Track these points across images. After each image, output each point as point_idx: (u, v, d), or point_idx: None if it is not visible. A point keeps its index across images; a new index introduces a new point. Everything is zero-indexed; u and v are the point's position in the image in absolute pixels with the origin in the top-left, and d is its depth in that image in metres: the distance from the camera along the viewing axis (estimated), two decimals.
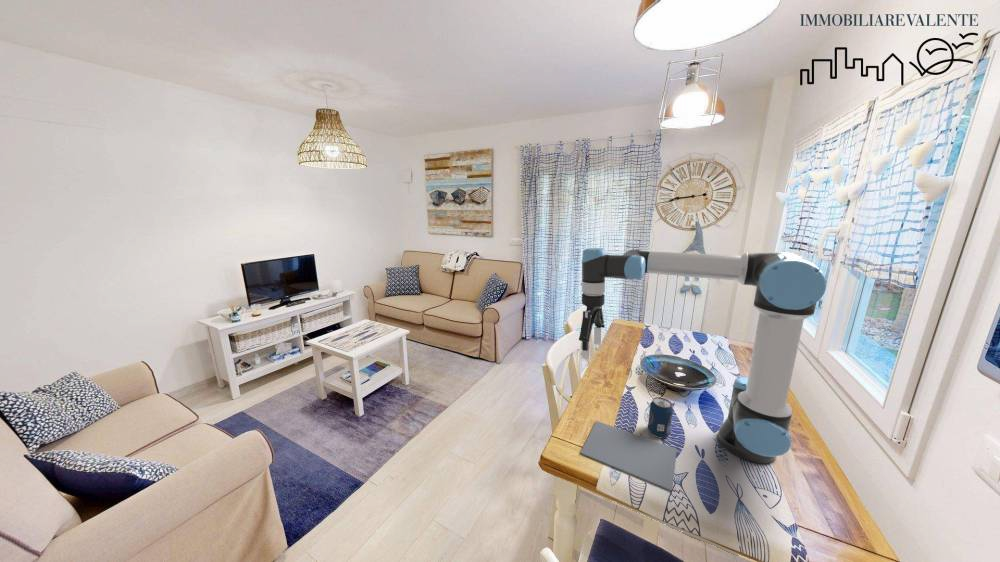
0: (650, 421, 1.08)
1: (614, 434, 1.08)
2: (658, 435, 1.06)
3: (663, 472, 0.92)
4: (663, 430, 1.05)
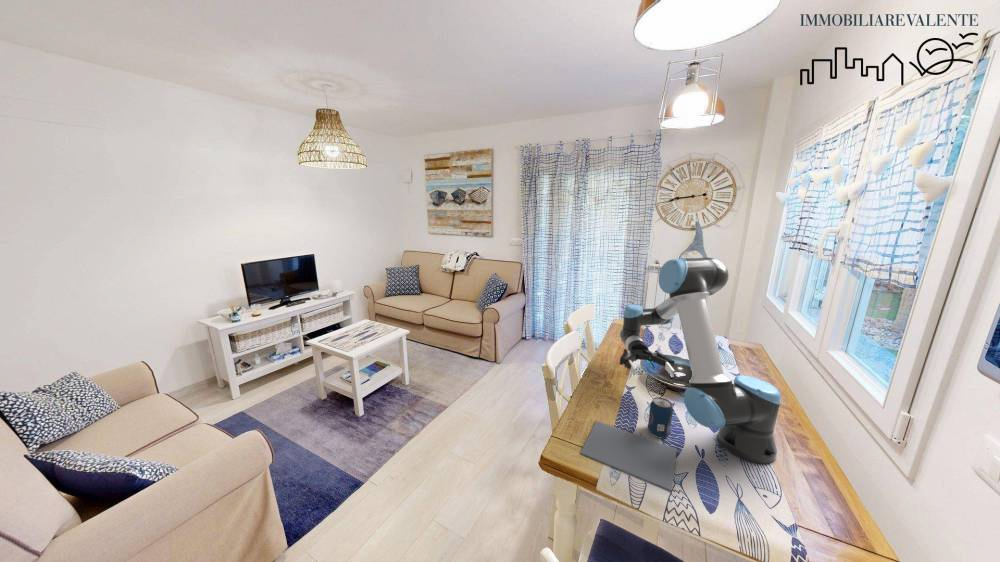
0: (650, 421, 1.08)
1: (614, 434, 1.08)
2: (658, 435, 1.06)
3: (663, 472, 0.92)
4: (663, 430, 1.05)
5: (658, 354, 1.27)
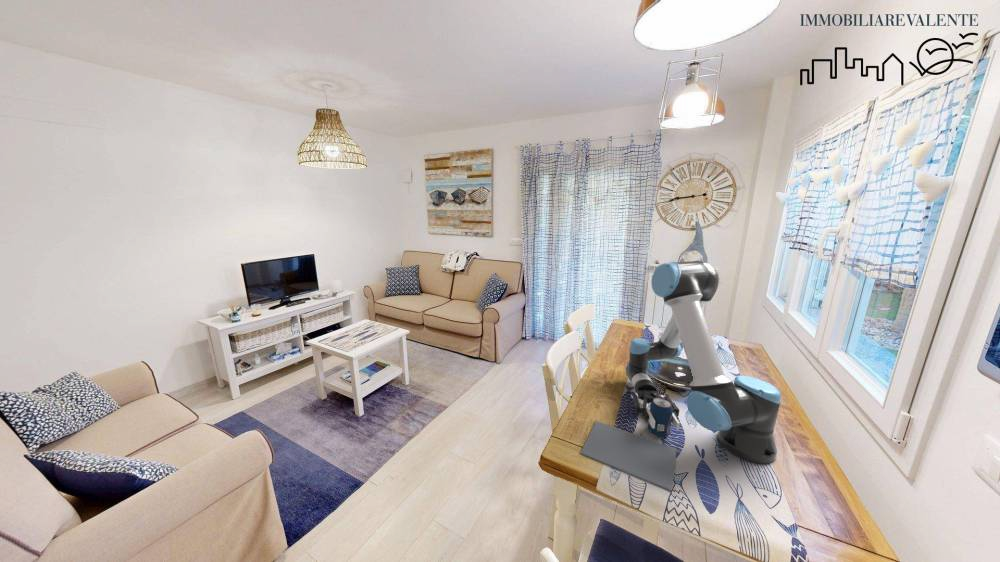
0: None
1: (614, 434, 1.08)
2: (658, 435, 1.06)
3: (663, 472, 0.92)
4: (663, 430, 1.05)
5: (666, 398, 1.16)
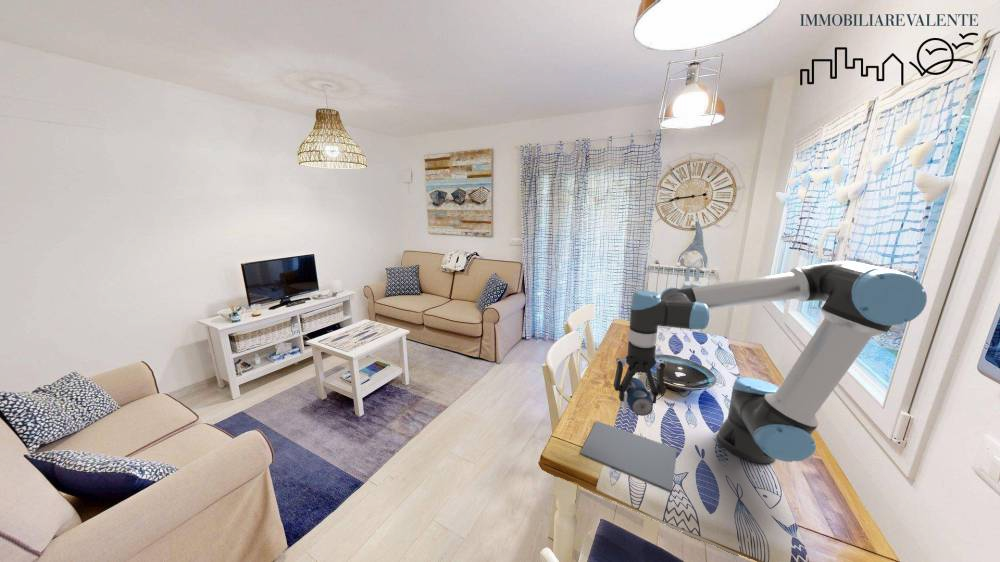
0: None
1: (614, 434, 1.08)
2: None
3: (663, 472, 0.92)
4: None
5: (658, 372, 0.93)
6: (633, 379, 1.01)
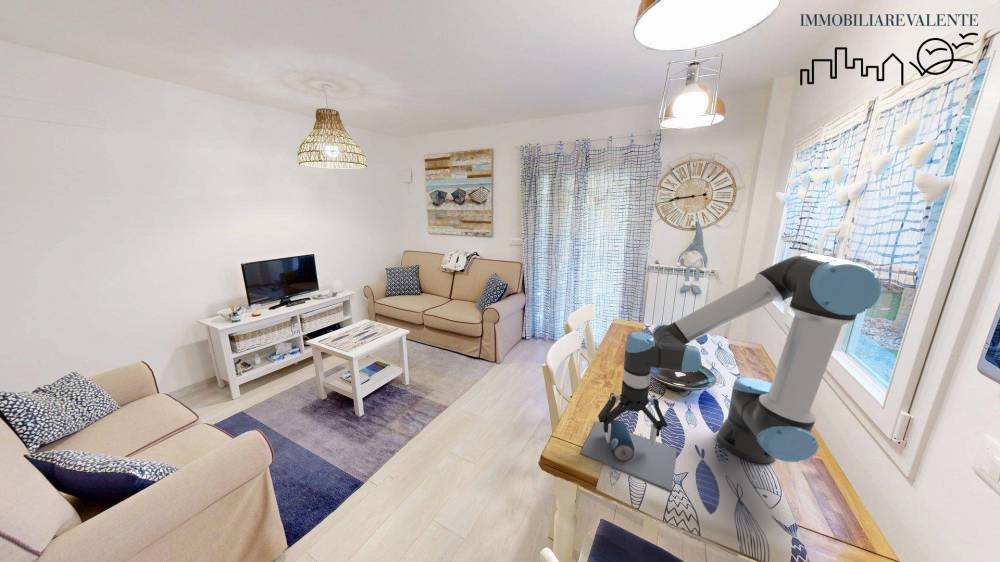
0: None
1: None
2: None
3: (663, 472, 0.92)
4: None
5: (655, 408, 0.95)
6: None
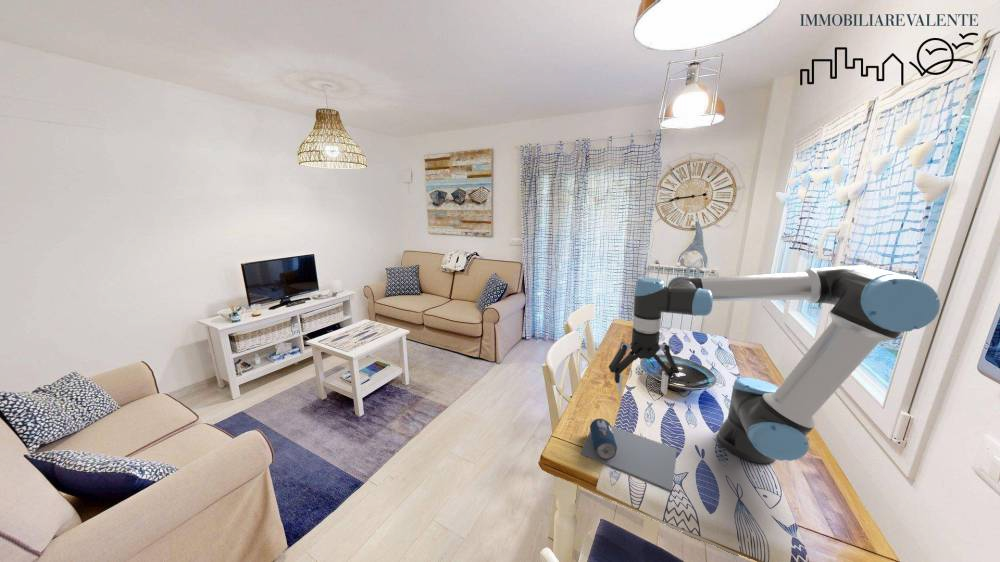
0: None
1: (614, 434, 1.08)
2: (609, 424, 1.06)
3: (663, 472, 0.92)
4: (609, 426, 1.03)
5: (666, 355, 0.95)
6: None
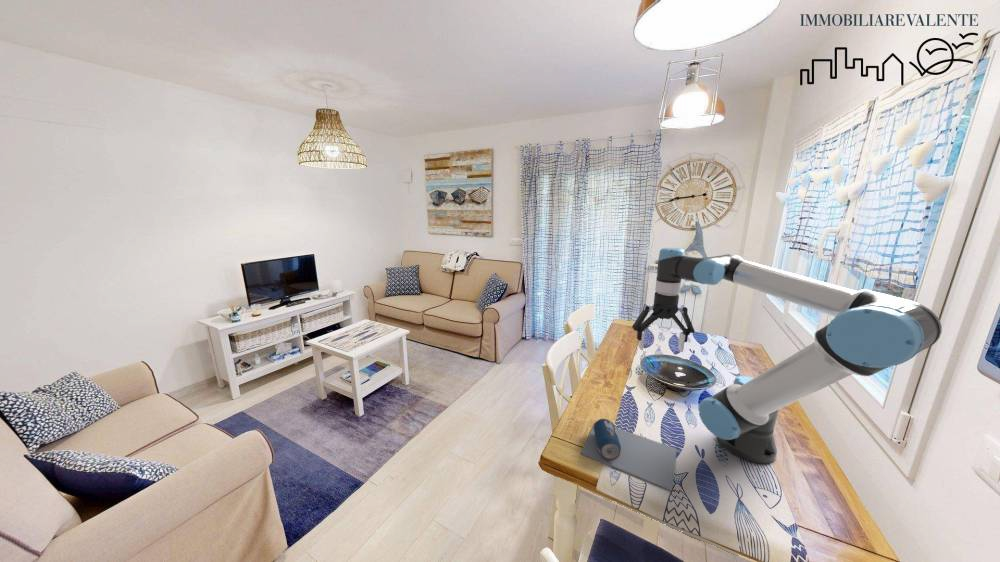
0: None
1: None
2: None
3: (663, 472, 0.92)
4: (615, 429, 1.03)
5: (684, 316, 1.08)
6: None
